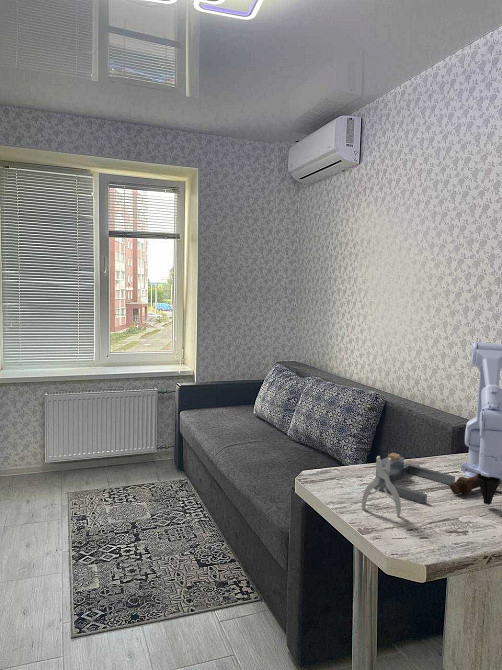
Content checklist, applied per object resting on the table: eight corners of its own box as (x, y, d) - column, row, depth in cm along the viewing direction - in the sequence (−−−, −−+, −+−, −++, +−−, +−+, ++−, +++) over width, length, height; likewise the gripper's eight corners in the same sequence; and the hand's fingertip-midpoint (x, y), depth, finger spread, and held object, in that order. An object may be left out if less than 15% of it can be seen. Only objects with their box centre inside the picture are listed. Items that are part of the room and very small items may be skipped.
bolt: (464, 489, 143) (498, 478, 150) (451, 475, 146) (485, 465, 154) (455, 502, 146) (488, 491, 153) (442, 488, 149) (476, 478, 157)
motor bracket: (399, 468, 167) (400, 447, 166) (454, 484, 155) (456, 461, 154) (365, 485, 152) (367, 462, 151) (424, 504, 140) (425, 479, 139)
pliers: (400, 516, 132) (403, 459, 131) (399, 518, 131) (402, 461, 129) (362, 508, 136) (365, 453, 135) (361, 510, 135) (363, 455, 134)
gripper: (458, 450, 139) (454, 499, 140) (515, 464, 129) (511, 516, 130) (467, 445, 144) (464, 492, 145) (524, 458, 134) (520, 508, 136)
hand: (487, 503), depth 138 cm, fingers closed
